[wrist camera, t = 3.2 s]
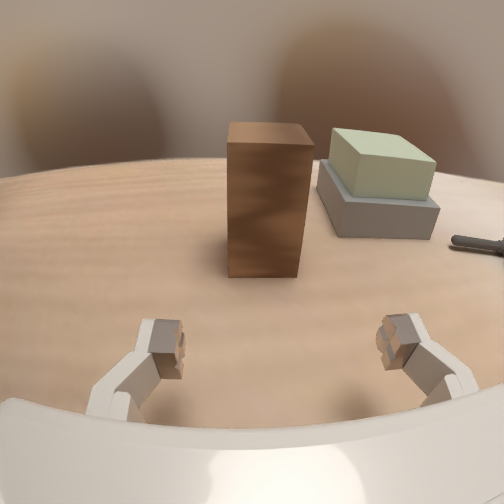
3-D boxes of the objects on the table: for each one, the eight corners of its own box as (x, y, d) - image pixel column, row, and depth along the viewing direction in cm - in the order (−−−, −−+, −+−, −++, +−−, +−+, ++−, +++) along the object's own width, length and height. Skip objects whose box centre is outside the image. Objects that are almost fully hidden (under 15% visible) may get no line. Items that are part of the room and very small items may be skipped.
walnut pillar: (228, 277, 23) (227, 142, 17) (230, 238, 27) (229, 121, 21) (296, 277, 24) (314, 145, 18) (288, 238, 28) (300, 124, 22)
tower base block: (337, 240, 28) (345, 201, 26) (316, 191, 36) (320, 159, 34) (428, 242, 29) (440, 208, 26) (392, 196, 37) (399, 166, 34)
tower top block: (352, 196, 27) (360, 153, 24) (328, 163, 33) (332, 128, 31) (426, 200, 27) (436, 162, 25) (392, 167, 34) (398, 135, 31)
